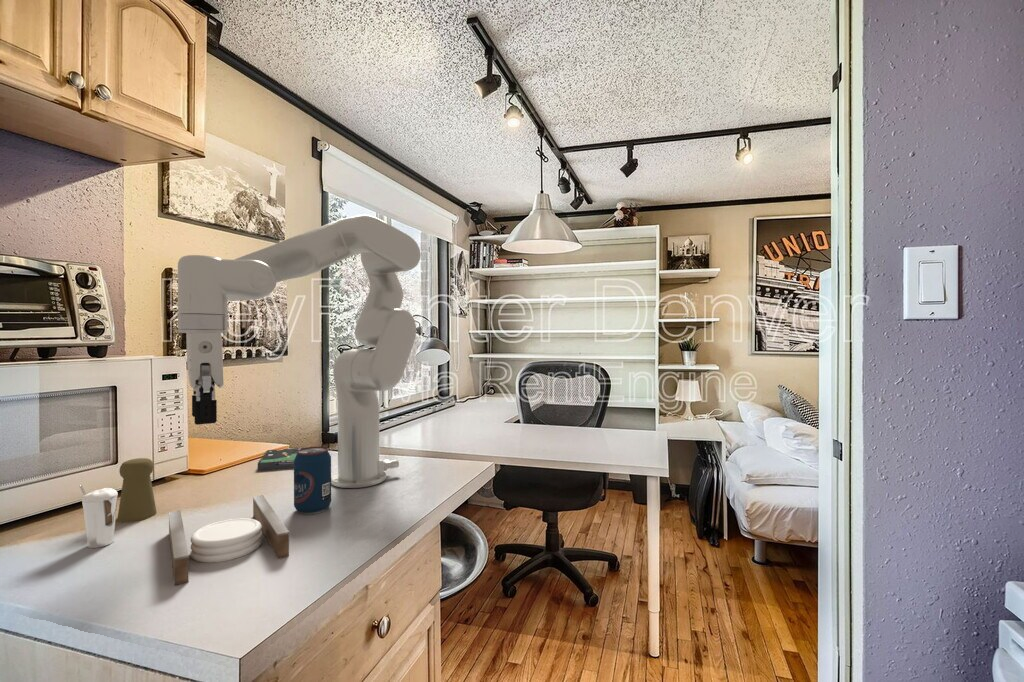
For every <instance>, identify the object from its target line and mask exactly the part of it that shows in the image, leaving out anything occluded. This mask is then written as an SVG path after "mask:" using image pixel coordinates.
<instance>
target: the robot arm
mask: <svg viewBox="0 0 1024 682" xmlns="http://www.w3.org/2000/svg"><path fill="white" fill-rule="evenodd" d="M355 255H360V261H361V265H362V267H363V270H364V271H365V273H366V276H367V279H368V281H369V291H368V294H367V297H366V300H365V302H364V305H363V307H362V309H361V312H360V314H359V317H358V319H357V322H356V325H355V327H354V335H355V340H356V341H357V342H358V343H359V344H360V345H363V346H365V347H370V348H372V349H370V348H352V349H348V350H345V351H343V352H342V353H340V354H339V355H338V356H337V358H336V359H335V361H334V363H333V369H332V372H333V373H332V374H333V380H334V385H335V390H336V398H337V473H335V474H334V475H333V476H331V486H334V487H336V488H342V489H343V488H345V489H358V488H359V489H361V488H367V487H372V486H375V485H378V484H381V483H383V482H384V481H385V480H386V479H387V473H386V471H387V470H389V469H397V468H399V466H400V462H399V460H398V459H393V460H390V459H384V460H383V459H382V458H380V402H379V398H378V395H377V392H376V391H378V392H385V391H389V390H391V389H393V388H395V387H396V386H397V385H398V384H399V382H400V381H401V379H402V376H403V374H404V371H405V370H406V366H407V363H408V361H409V358H410V354H411V353H412V349H413V347H414V343H415V342H416V341H415V340H416V337H417V324H416V320H415V317H413V315H412V314H411V313H410V312H409V311H408V310H406V309H403V308H401V307H402V303H403V299H404V290H403V287H402V285H401V282H400V280H399V278H398V275H397V274H396V273H402V272H408V271H411V270H413V269H414V268H416V267H417V266H418V265H419V263H420V260H421V256H422V255H421V249H420V247H419V245H418V243H417V241H415V239H414V238H413V237H411V235H408V234H407V233H406V232H403V231H402V230H400V229H398V228H396V227H394V226H393V225H391V224H389V223H387V222H385V221H384V220H382V219H380V218H378V217H375V216H372V215H370V214H358V215H355V216H354V215H353V216H350V217H344V218H339V219H337V220H334V221H332V222H328V223H326V224H324V225H322V226H318V227H316V228H313V229H311V230H308V231H306V232H303V233H300V234H297V235H295V236H291V237H289V238H287V239H285V240H282V241H279V242H277V243H274V244H272V245H270V246H267V247H265V248H261V249H258V250H256V251H254V252H253V251H252V252H251V253H247V254H245V255H243V256H239V257H237V258H235V259H227V258H226V259H223V258H220V257H216V256H210V255H202V254H201V255H200V254H188V255H184V256H181V257H180V258H179V259H178V262H177V333H178V334H186V335H185V336H186V337H185V338H186V367H187V368H186V369H187V376H188V377H187V378H188V382H189V386H190V387H191V389H192V390H193V391H192V392H193V394H192V395H191V416H192V417H193V418H194V424H195V425H196V426H197V425H199V426H200V425H209V424H215V423H217V421H218V419H217V418H218V415H217V414H218V413H217V412H218V411H217V409H218V406H217V405H218V404H217V403H218V401H217V399H216V389H215V388H216V387H218V388H220V389H221V388H222V387H224V360H223V359H224V358H223V338H222V334H228V333H229V332H228V328H229V327H228V326H229V325H228V301H229V302H236V301H238V302H239V301H251V300H259V299H264V298H266V297H268V296H269V295H270V294H272V293H273V291H274V290H275V288H276V286H277V283H280V282H283V281H287V280H291V279H297V278H302V277H306V276H309V275H310V276H311V275H313V274H315V273H318V272H320V271H322V270H325V269H326V268H328V267H331V266H332V265H334V264H337V263H339V262H342V261H343V260H346V259H347V258H350V257H352V256H355ZM373 348H374V349H373ZM215 386H216V387H215Z"/></svg>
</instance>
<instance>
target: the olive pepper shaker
mask: <svg viewBox="0 0 1024 682" xmlns="http://www.w3.org/2000/svg"><path fill="white" fill-rule="evenodd" d="M154 466H155V465H154V461H152V459H150V458H147V457H142V458H141V457H139V458H132V459H129V460H125V461H123V462H122V463H121V465H120V466H119V471H118V472H119V475H120V477H121V478H122V479H123V480H122V485H121V492H120V499H119V506H118V511H117V519H116V520H117V522H121V523H130V522H131V523H132V522H138V521H142V520H147V519H149V518H151V517H154V516H155V515H156V514H157V513H158V512H157V505H156V500H155V496H154V495H155V494H154V489H153V483H152V477H151V474H152V473H153V470H154V468H155V467H154Z"/></svg>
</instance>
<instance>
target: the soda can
mask: <svg viewBox="0 0 1024 682" xmlns="http://www.w3.org/2000/svg"><path fill="white" fill-rule="evenodd" d="M301 448H302V449H299V450H298V451H297V455H296V457H295V459H294V468H293V507H294V508H295V510H296V511H297V513H298V514H301V515H316V514H319V513H320V514H321V513H323V512H325V511H326V510H328V509H329V507H330V504H331V503H332V484H331V478H332V456H331V455H330V452H329V449H328V447H325V446H309V447H301Z"/></svg>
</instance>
